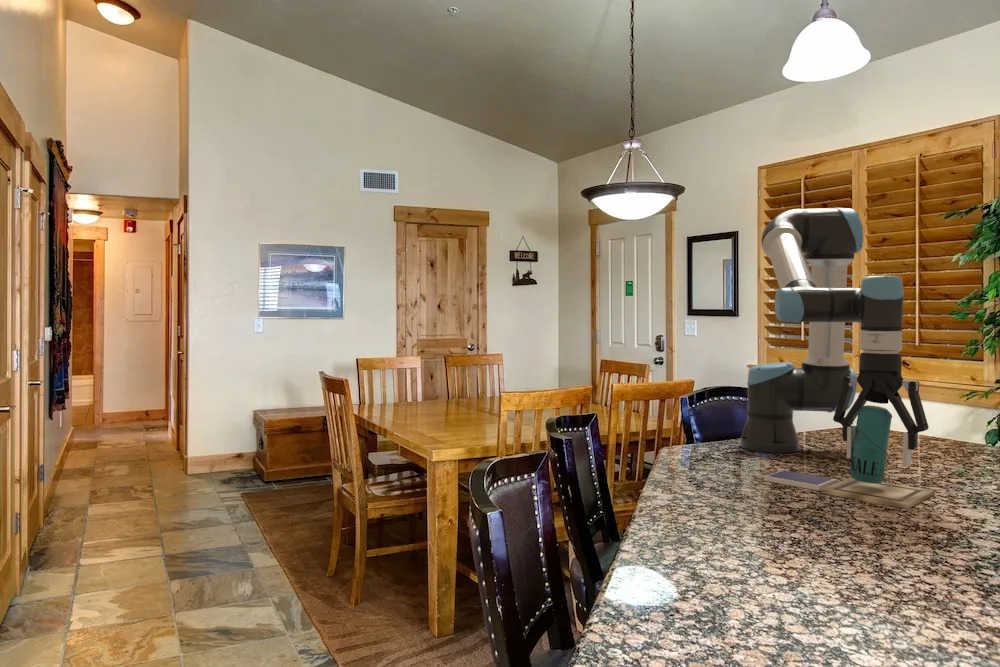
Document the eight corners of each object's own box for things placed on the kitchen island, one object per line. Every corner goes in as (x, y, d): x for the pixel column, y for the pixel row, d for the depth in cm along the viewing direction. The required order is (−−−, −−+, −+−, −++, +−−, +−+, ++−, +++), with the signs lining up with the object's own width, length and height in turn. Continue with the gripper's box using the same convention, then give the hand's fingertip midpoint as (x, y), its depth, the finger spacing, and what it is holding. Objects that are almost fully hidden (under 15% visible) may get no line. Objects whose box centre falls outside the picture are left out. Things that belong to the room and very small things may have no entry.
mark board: (821, 492, 143) (821, 488, 143) (851, 480, 154) (851, 476, 154) (908, 509, 131) (908, 504, 131) (934, 494, 142) (934, 490, 142)
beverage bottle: (875, 482, 148) (887, 389, 145) (888, 492, 141) (902, 395, 139) (842, 479, 148) (854, 386, 146) (854, 489, 142) (867, 392, 139)
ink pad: (763, 480, 154) (764, 475, 154) (782, 474, 160) (782, 469, 160) (819, 490, 145) (819, 485, 145) (836, 483, 151) (837, 478, 151)
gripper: (816, 350, 148) (814, 455, 148) (937, 355, 131) (935, 473, 132) (831, 349, 153) (829, 450, 153) (949, 353, 136) (947, 467, 137)
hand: (878, 461), depth 143 cm, fingers open, 10 cm apart
